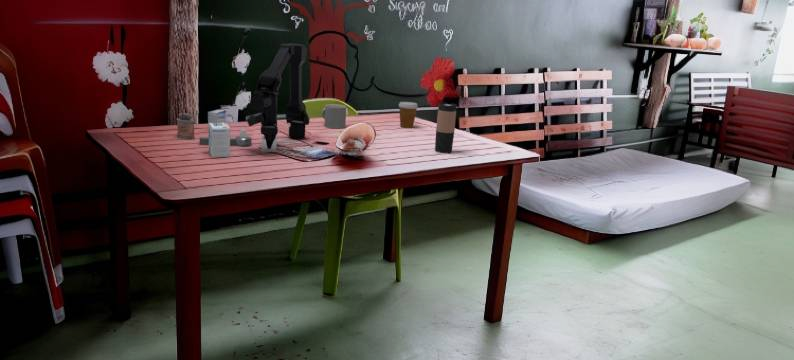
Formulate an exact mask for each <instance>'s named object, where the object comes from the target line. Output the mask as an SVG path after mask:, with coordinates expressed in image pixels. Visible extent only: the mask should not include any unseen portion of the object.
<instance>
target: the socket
mask: <svg viewBox="0 0 794 360" xmlns="http://www.w3.org/2000/svg"><path fill="white" fill-rule="evenodd" d="M277 144H278V143H277V136H276V137H275V140H274V142H273V144H272V146H271V149H267V144H266V138H265V136H264V135H261V152H262V153H276V152H277ZM275 151H276V152H275Z"/></svg>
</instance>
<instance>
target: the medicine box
mask: <svg viewBox="0 0 794 360" xmlns="http://www.w3.org/2000/svg"><path fill="white" fill-rule="evenodd" d="M207 121H208V122H207V124H208V130H207V131H209V123H227V110H224V109H215V110H211V111H207Z"/></svg>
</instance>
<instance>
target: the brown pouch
mask: <svg viewBox="0 0 794 360" xmlns="http://www.w3.org/2000/svg"><path fill="white" fill-rule="evenodd" d="M178 116H179V118H176V127H177V128H176V129H177V131H176V132H177V133H176V138H178V137H180V138H179V139H182V138H183V139H184V140H195V139H196V137H195V120H194V119H193V114H189V113H186V112H185V113H184V112H183V113H179V115H178ZM183 139H182V140H183Z"/></svg>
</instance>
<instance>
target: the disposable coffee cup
mask: <svg viewBox="0 0 794 360" xmlns="http://www.w3.org/2000/svg"><path fill="white" fill-rule="evenodd" d="M398 107H399V124H400V126H399V127H400V128H401V129H402V128H403V129H413V128H414V125H415V119H416V115H417V110H418V107H419V106H418V103H416V102H412V101H411V102H410V101H399V103H398Z"/></svg>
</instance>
